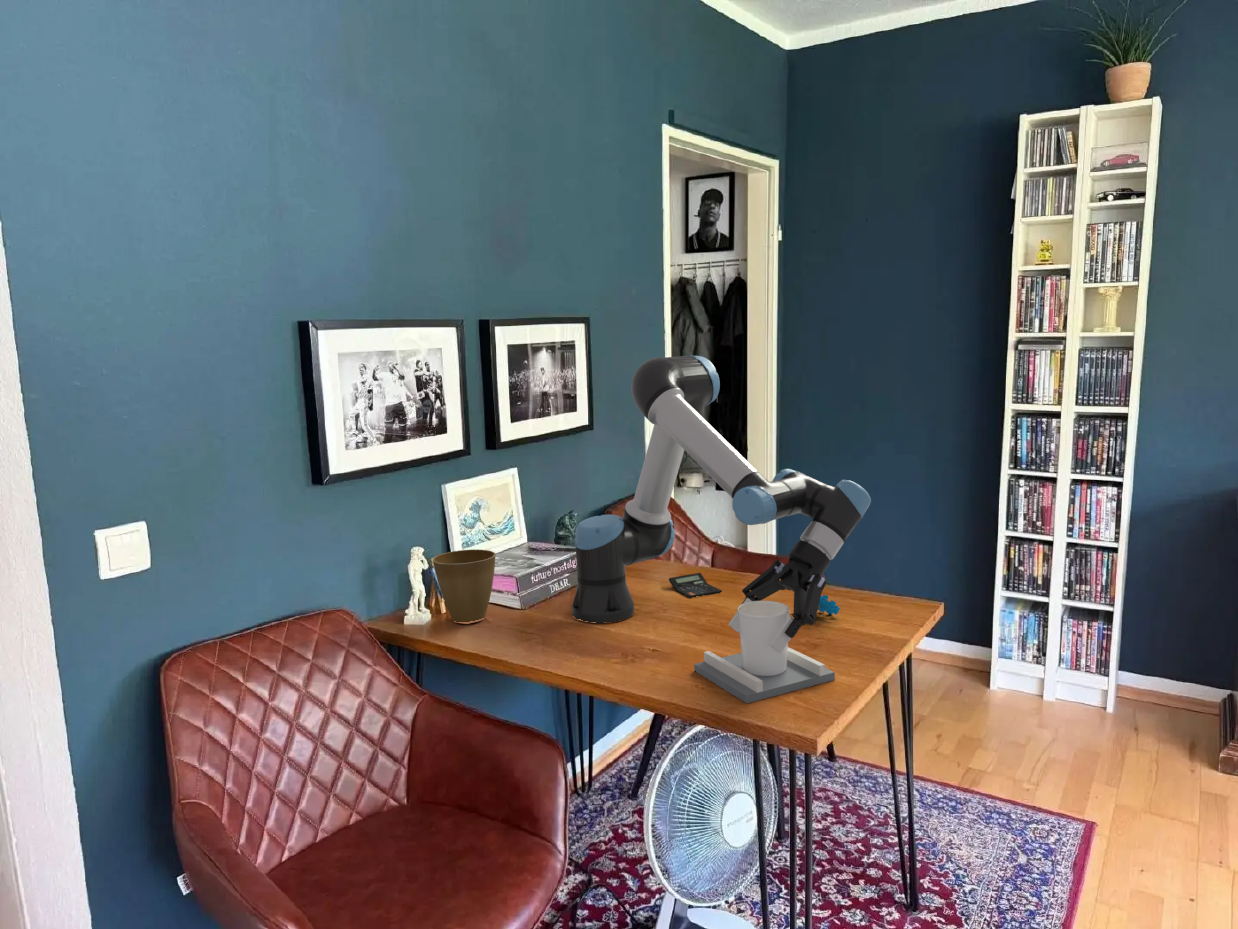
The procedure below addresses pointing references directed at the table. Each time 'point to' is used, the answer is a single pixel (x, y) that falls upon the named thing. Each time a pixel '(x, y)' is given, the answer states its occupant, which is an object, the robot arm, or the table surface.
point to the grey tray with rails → (756, 687)
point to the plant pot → (466, 582)
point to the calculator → (693, 585)
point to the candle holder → (762, 637)
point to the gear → (827, 605)
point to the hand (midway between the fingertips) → (753, 638)
